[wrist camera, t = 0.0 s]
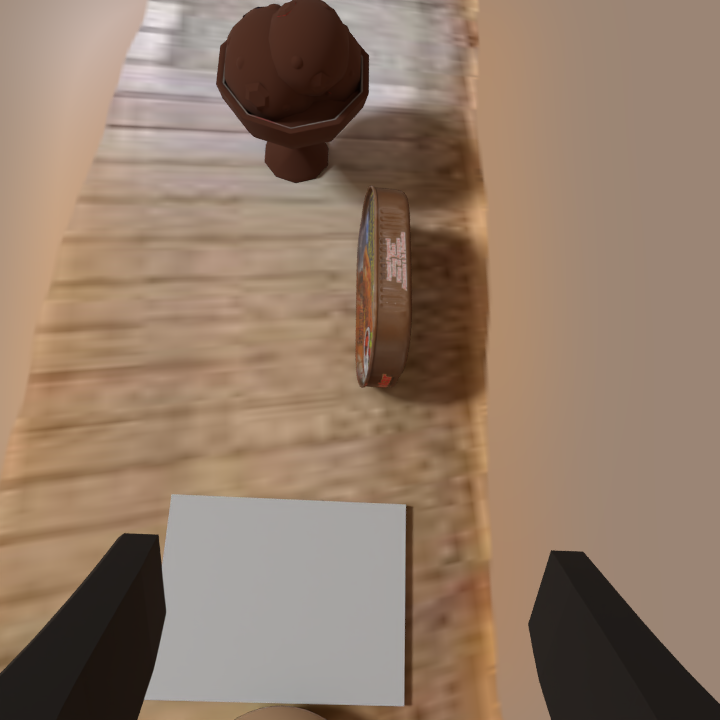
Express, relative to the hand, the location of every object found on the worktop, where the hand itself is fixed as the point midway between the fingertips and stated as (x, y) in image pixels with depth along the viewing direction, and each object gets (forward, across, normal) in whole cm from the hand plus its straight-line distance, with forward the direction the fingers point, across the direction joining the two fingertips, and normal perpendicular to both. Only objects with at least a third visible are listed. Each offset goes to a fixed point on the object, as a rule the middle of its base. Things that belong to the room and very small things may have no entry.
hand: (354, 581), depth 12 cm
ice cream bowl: (+47, +4, +2) cm, 47 cm away
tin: (+37, -3, +11) cm, 39 cm away
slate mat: (+21, +2, +25) cm, 32 cm away
